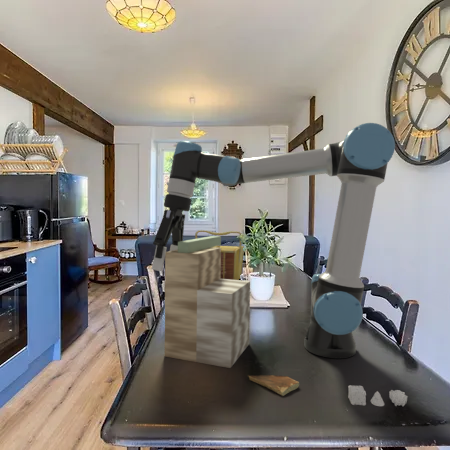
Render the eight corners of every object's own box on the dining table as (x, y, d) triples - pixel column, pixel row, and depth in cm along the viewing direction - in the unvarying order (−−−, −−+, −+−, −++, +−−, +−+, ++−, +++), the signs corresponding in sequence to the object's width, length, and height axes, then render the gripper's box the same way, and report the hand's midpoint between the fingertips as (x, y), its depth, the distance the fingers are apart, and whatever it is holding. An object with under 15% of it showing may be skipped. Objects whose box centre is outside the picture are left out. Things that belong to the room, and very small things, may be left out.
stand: (191, 335, 116) (192, 246, 115) (249, 344, 109) (250, 249, 108) (164, 356, 99) (165, 252, 98) (230, 368, 92) (232, 256, 91)
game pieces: (351, 406, 75) (351, 392, 75) (347, 398, 79) (348, 384, 79) (409, 409, 74) (409, 395, 74) (402, 401, 78) (403, 387, 77)
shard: (247, 380, 86) (247, 373, 86) (267, 371, 91) (268, 365, 91) (281, 398, 78) (281, 391, 78) (301, 387, 83) (302, 380, 83)
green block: (212, 244, 122) (212, 235, 122) (220, 244, 121) (220, 236, 121) (177, 252, 97) (177, 241, 97) (188, 253, 96) (188, 242, 96)
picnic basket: (245, 278, 217) (246, 230, 215) (237, 286, 192) (238, 232, 190) (200, 275, 223) (201, 229, 222) (187, 283, 198) (188, 231, 197)
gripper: (178, 198, 112) (165, 262, 112) (152, 187, 88) (135, 269, 87) (200, 202, 111) (187, 267, 111) (180, 192, 87) (163, 275, 86)
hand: (164, 268), depth 99 cm, fingers open, 13 cm apart
